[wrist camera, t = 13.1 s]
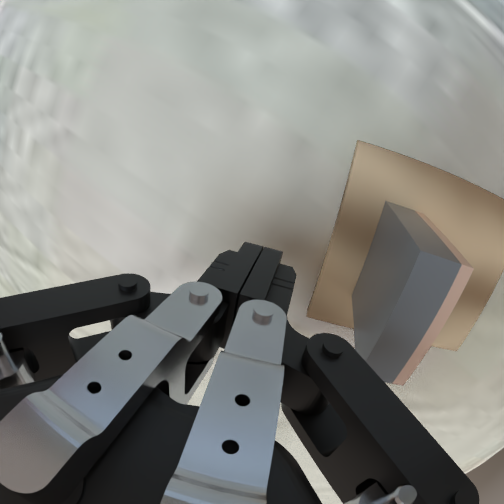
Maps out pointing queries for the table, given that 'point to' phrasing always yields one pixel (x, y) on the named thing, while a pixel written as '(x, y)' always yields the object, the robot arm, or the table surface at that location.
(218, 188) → the table surface
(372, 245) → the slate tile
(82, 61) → the table surface
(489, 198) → the tan wavy tile
